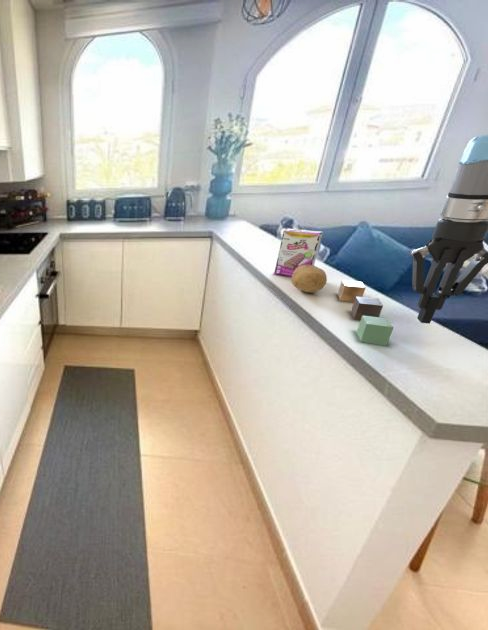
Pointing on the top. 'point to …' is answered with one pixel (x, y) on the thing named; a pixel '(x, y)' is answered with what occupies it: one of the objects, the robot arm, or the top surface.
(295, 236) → the candy bar box
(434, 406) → the top surface
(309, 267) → the potato
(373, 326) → the sage block
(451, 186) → the robot arm
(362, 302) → the walnut block
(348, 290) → the oak block
